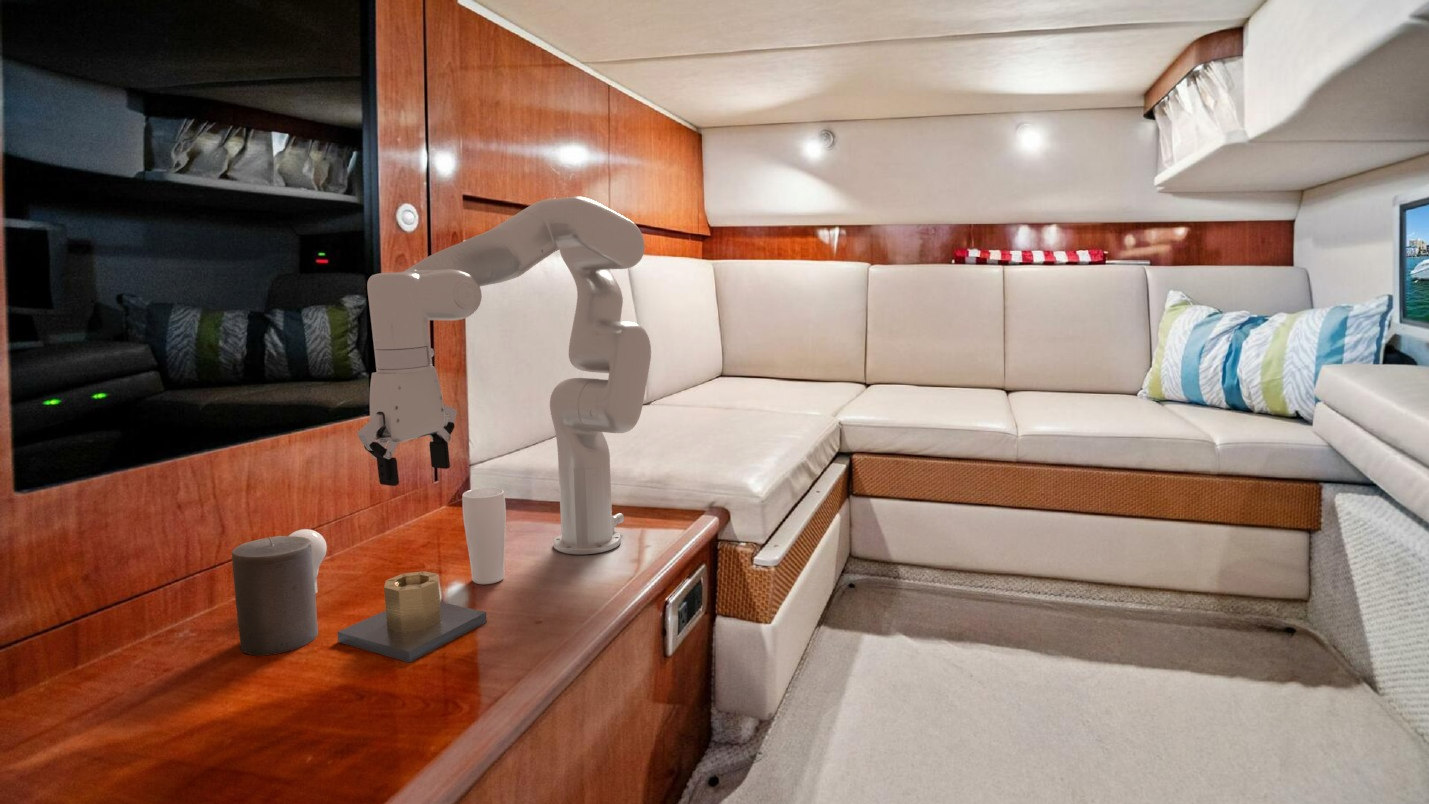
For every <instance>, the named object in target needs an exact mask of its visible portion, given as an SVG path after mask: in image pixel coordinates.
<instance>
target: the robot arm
mask: <svg viewBox="0 0 1429 804" xmlns="http://www.w3.org/2000/svg"><path fill="white" fill-rule="evenodd" d="M645 247H646V245H645V239H644V235H643V234H642V231H641V230H640V228H639V227H638V226H637V224H636V223H635V222H633V221H632V220H630V219H629V218H626V217H625V216H624V215H621V214H620V213H617V211H614V210H612V209H610V208H608V207H607V206H605V205H603V204H601V203H599V202H597V201H595V200H593V199H590V198H587V197H583V196H570V197H569V196H568V197H561V198H558V197H557V198H547V199H542V200H538V201H536V202H534V203H532V204H531V205H529V206H528V207H525V208H524V209H523V210H520V211H519V212H517V213H516V214H514V215H513V216H511V217H509V218H508V219H506V220H504V221H503V222H501V223H499V224H498V225H496V226H494V227H493V228H491V229H490V230H487V231H485V232H483V233H480V234H477V235H474V236H473V237H470V238H468V239H466V240H464V241H461V242H459V243H457V244H454V245H451V246H449V247H447V248H443V249H442V250H440V251H437V252H435V253H433V254H431V255H429V256H427V257H425V258H423V259H422V260H420V261H419V262H417V263H415V264H413V265H412V266H410V267H409V268H407V269H405V270H404V271H403V272H402V271H401V272H400V271H399V272H381V273H376V274H372V275H371V276H370V277H369V278H368V280H367V284H366V285H367V296H368V306H369V307H368V308H369V316H370V323H371V333H372V341H373V351H374V359H375V369H376V372H371V376H370V377H371V378H370V384H369V385H370V386H369V421H368V422H367V423H365V425H364V426H363V427H361V428H360V429H359V430H358V431H357V437H358V439H359V440H360V441H361V443H362V445H363V446H364V449H365V450H366V451H367V452H368V453H370V454H371V457H372V458H374V459H376V464H377V473H378V481H379V484H380V485H382V486H391V487H396V486H398V485H399V484H400V480H399V469H398V461H397V458H396V457H393V455H394V453H395V452H396V450H397V447H398V445H399V443H403V442H408V441H412V440H414V439H415V440H416V439H418V438H422V437H427V436H428V437H429V438H430V439H431V440H432V441H429V445H428V446H429V454H430V462H431V463H430V465H431V467H432V468H433V469H444V470H448V469H450V468H451V462H450V453H449V442H450V441H451V439H452V436H451V434H452V433H453V431H454V429H455V423H456V419H457V415H458V411H457V409H456V408H453V407H451V406H449V405H446V404H444V401H443V392H442V388H441V384H440V380H439V375H438V372H437V370H436V367H435V366H433V357H434V355H435V351H434V348H432V347H431V338H430V337H431V336H430V329H429V328H430V327H429V325H430V324H429V321H446V322H447V321H449V322H450V321H452V322H453V321H461V320H463V319H466V318H470V317H471V316H472V315H473V314H474V313H476V311H477V310H478V309H479V307H480V305H481V303H482V298H483V297H482V290H481V287H484V286H485V287H486V286H491V285H495V284H500V283H504V282H507V281H510V280H513V279H516V278H518V277H520V276H522V275H524V274H525V273H527V272H528V271H529V270H531V269H532V268H533V267H536V265H538V264H539V263H541V262H542V261H544V259H546V258H548V257H549V256H551V255H552V254H554V253H555V252H557V251H559V253H560V256H561V258H562V261H563V262H564V264H565V265H566V267H567V268H568V270H569V272H570V274H571V276H572V278H573V281H574V283H575V287H576V291H577V299H576V305H575V311H574V318H573V323H572V327H571V333H570V339H569V345H568V358H569V362H570V363H571V365H572V366H573V367H574V368H575V369H577V370H580V371H583V372H589V373H597V374H598V373H600V374H601V373H602V374H608V379H604V378H603V379H600V378H593V377H592V378H589V377H588V378H587V377H585V378H584V377H573V378H572V377H571V378H567V379H565V380H563V381H560V383H558V384H557V385H556V386H555V387H554V388H553V390H552V392H551V395H550V398H549V411H550V416H551V421H552V424H553V427H554V428H553V429H554V431H555V432H554V433H555V437H556V438H555V439H556V447H557V459H558V460H557V463H558V464H557V466H558V485H559V507H560V508H559V512H560V527H561V528H560V531H561V532H560V533H561V534H559V535H557V536H556V537H554V539H553V548H554V549H555V550H556V551H558V552H560V553H563V554H568V555H593V554H599V553H605V552H609V551H611V550H613V549H615V548H617V547H618V546H620V545H621V543H622V536H621V535H620V533H618V532H616V531H615V528H616V526H617V525H619V524H621V523H623V522H624V521H625V516H624V514H623V513H620V512H619V513H616V514H612V513H613V509H612V508H613V507H612V486H611V485H612V484H611V481H612V480H611V455H610V449H609V445H608V442H607V439H606V437H605V435H604V433H607V434H624V433H627V432H630V431H631V430H633V429H634V428H635V426H636V425H637V424H638V422H639V419H640V418H641V414H642V410H643V405H644V400H645V394H646V388H647V382H648V378H649V372H650V366H651V359H652V347H651V341H650V338H649V335H648V333H647V331H646V330H645V328H643V327H642V325H640V324H638V323H635V322H633V321H621V319H622V318H621V317H622V311H623V303H624V302H623V299H624V297H623V293H622V290H621V287H620V285H619V283H618V281H617V280H616V278H615V276H614V274H613V273H612V271H611V270H626V269H629V268H632V267H635V266H636V265H638V263H640V262H641V260H642V258H643V256H644V254H645Z"/></svg>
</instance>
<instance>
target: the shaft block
mask: <svg viewBox="0 0 1429 804" xmlns="http://www.w3.org/2000/svg"><path fill="white" fill-rule="evenodd" d="M418 585H420V584H410V585H406V586H403V587H411V586H418ZM440 605H441V622H439V623H437V624H435V625H433V626H431V627H429V628H427V629H425V630H419V631H411V632H404V633H401V632H397V631H394V630H390V629H387V618H386V610H384V611H382V612H380V613H377V614H374V615H372V616H370V617H368V618H365V619H363V620H360V621H358V622H356V623H354V624H352V625H350V626H347V627H345V628H343V629H341V630H338V631H337V642H338V643H340V644H343V645H348V646H351V647H354V648H357V649H361V650H364V651H367V652H372V653H375V654H379V655H381V656H382V655H383V656H385V657H388V658H393V659H396V660H400V661H402V662H406V663H411V662H412V663H413V661H416V660H417V659H419V658H421V657H424V656H425V655H427V654H429V653H431V652H433V651H435V650H437V649H438V648H440V647H442V646H444V645H445V644H448V643H450V642H451V641H453V640H456V639H458V638H459V637H461V636H463V635H465V634H467V633H468V632H470V631H472V630H475V629H476V628H478V627H481V626H482V625H484V624H486V623H487V622H488V620H487V619H488V618H487V612H486V611H483V610H482V611H481V610H478V609H474V608H470V607H465V606H461V605H458V604H457V605H456V604H452V603H448V602H444V601H440Z"/></svg>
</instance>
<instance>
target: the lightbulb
mask: <svg viewBox="0 0 1429 804" xmlns="http://www.w3.org/2000/svg"><path fill="white" fill-rule="evenodd" d="M288 536H297V537H305V538H307V539H309V540H311V541H312V543H311V548H312V562H313V574H314V586H315V595H316V594H317V593H318V592H319V591H318V581H317V580H318V578H317V577H318V575H319V571H320V570H319V569H320V566H321V564H322V562H323V561H324V559H325V557H326V555H327V549H328V547H327V542H326V539H325V538H324V536H323V535H322V534H320V533H319V532H318V531H316V530H313V529H311V528H309V529H307V528H302V529H298V530H295V531H293V532H292V533H290V534H289V535H288Z"/></svg>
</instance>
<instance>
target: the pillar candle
mask: <svg viewBox="0 0 1429 804" xmlns="http://www.w3.org/2000/svg"><path fill="white" fill-rule="evenodd" d="M311 543H312V541H311V540H309V539H307V538H305V537H297V536H289V535H283V536H282V535H278V536H272V537H271V536H268V537H265V538H260V539H255V540H252V541H248V542H244V543H241V544H240V545H237V546H236V547H235V548H233V549H232V551H231V559H232V560H231V561H232V562H231V564H232V574H233V575H232V576H233V584H234V586H233V587H234V596H235V608H236V617H237V618H236V619H237V627H238V636H239V643H240V645H239V649H240V651H241V652H242V653H244V654H247V655H251V656H270V655H277V654H283V653H286V652H291V651H295V650H298V649H300V648H302V647H304V646H306V645H308V644H310V643H311V642H313V641H314V640H315V639H316V638H317V637H318V634H319V631H318V630H319V628H318V627H319V626H318V617H317V615H318V614H317V600H316V594H315V586H314V574H313V562H312V548H311Z"/></svg>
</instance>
